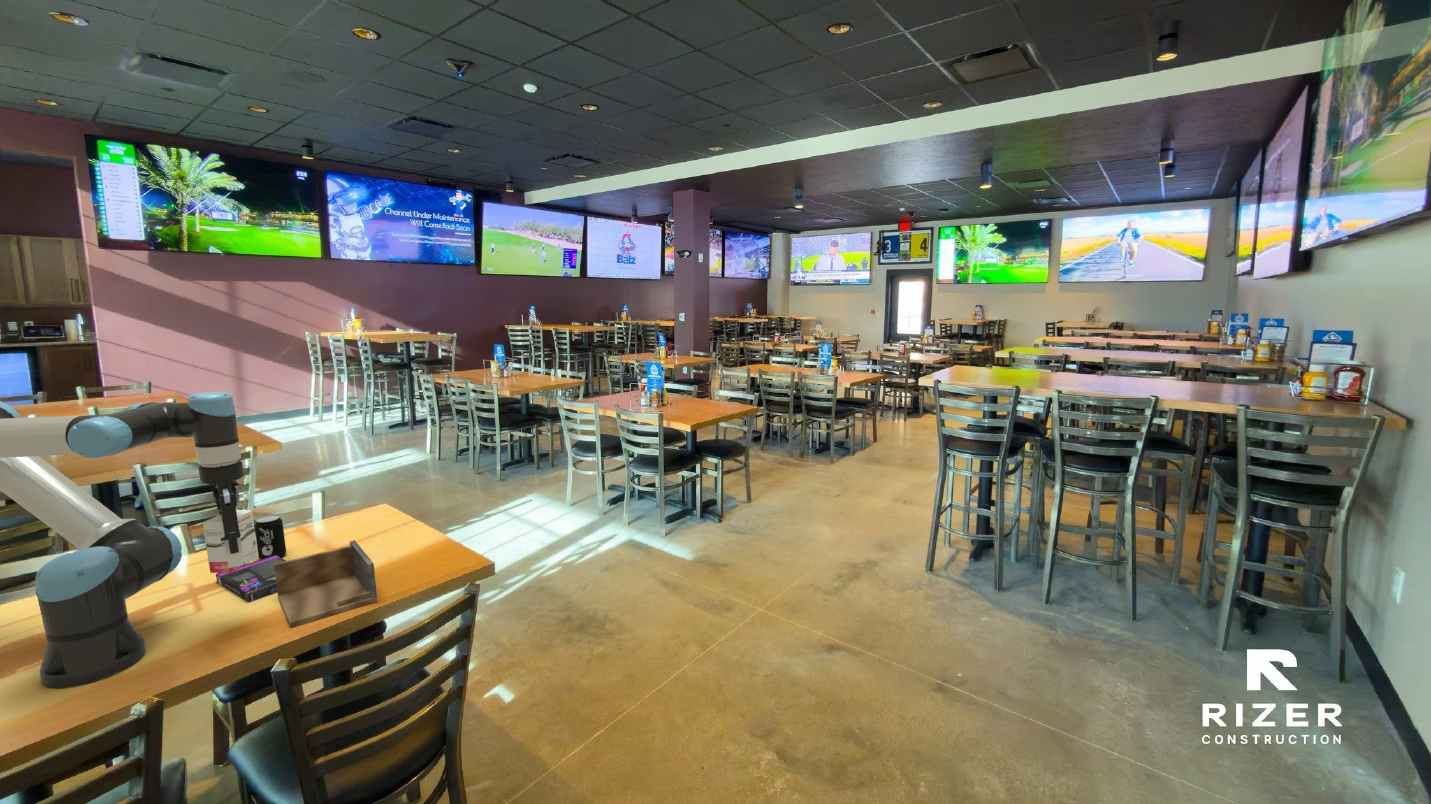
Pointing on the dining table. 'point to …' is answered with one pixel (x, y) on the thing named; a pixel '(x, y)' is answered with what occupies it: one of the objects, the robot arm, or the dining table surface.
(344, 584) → the shelf
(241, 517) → the ink box
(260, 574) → the box
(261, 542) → the beverage can
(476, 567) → the dining table surface
